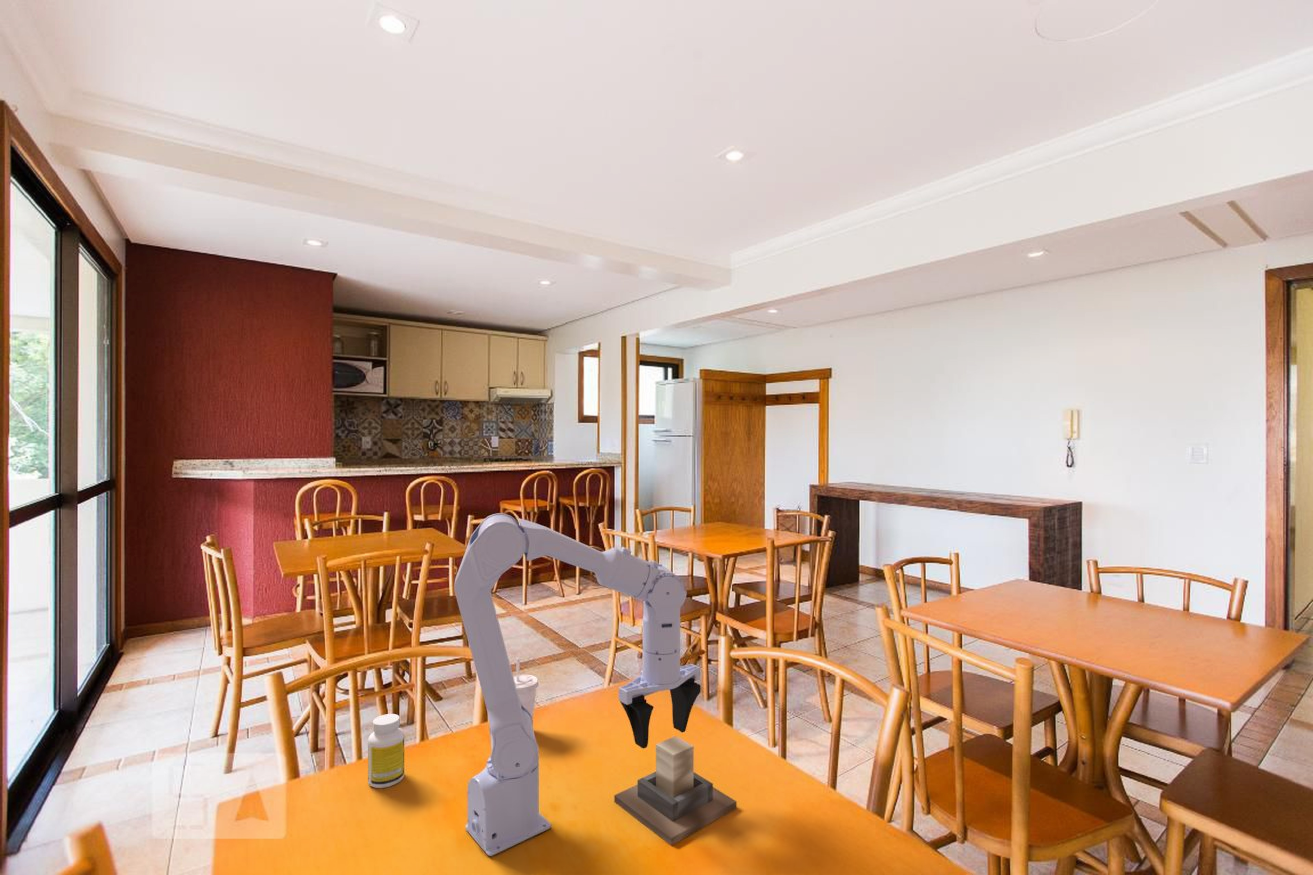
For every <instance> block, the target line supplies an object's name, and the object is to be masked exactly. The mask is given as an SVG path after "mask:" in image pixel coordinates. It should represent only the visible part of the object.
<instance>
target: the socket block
mask: <svg viewBox="0 0 1313 875" xmlns="http://www.w3.org/2000/svg"><path fill="white" fill-rule="evenodd" d="M613 799H614V800H613V801H614V803H615V804H617V805H618V806H619V807H621V809H623V810H624V811H625V812H626V813H628V814H629V815H631V816H632V817H634V818H635V819H636V820H638V821H639V822H640V823H641V824H642V825H644V826H645V827H646V828H647V829H648V830H650V831H651V832H653V833H654V834H656V835H657V836H658V837H659V838H660V839H662V840H663V841H664V842H666V844H669V845H670V846H674V845H675V844H677V843H679V842H680V841H682V840H684V839H686V838H687V837H688V836H691V835H692V834H694V833H696V832H697V831H699V830H701V829H702V828H705V827H706V826H708V825H709V824H712V823H714V822H715V821H716V820H718V819H720V818H722V817H724V816H726V815H727V814H729V813H731V812H732V811H734V810H736V809H737V808H738V807H737V801H736V800H735V799H733V798H732V797H730V796H728V795H726V794H725V793H724V792H722V791H720V790H719V789H717V788H716V787H714V783H713V782H711V781H710V780H708V779H706V778H704V777H702V776H701V775H699V774H698V773H696V772H694V788H693V789H691V790H689V791H687V792H685V793H683V794H681V795H679V796H677V797H675V798H672V797H670V796H669V795H667V794H666V793H665V792H663V791H662V790H660V789H659V788H657V787H656V771H655V772H654V771H653V772H652V773H650V774H647V775H645V776H643V777H642V778H639V779H637V784H636V785H633V786H631V787H629V788H627V789H625V790H622V791H620V792H618V793H616V794H614V797H613Z"/></svg>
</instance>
